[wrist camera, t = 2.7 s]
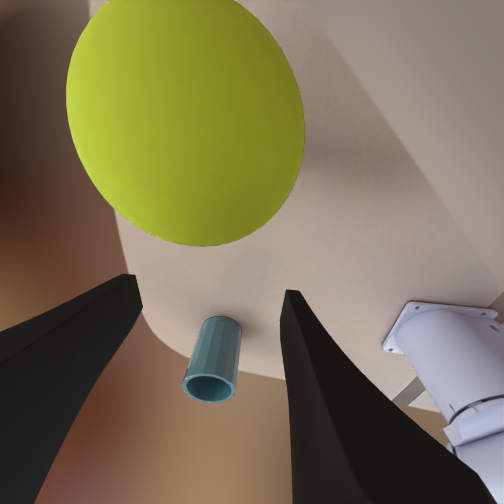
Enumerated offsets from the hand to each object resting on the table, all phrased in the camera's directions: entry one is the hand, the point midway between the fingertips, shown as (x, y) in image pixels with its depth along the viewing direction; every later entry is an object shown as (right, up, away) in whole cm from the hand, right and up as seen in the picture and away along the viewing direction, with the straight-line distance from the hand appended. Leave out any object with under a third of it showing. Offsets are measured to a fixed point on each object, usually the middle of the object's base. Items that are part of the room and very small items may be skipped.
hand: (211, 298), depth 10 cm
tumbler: (-2, -8, +16) cm, 18 cm away
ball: (+1, +6, -3) cm, 7 cm away
